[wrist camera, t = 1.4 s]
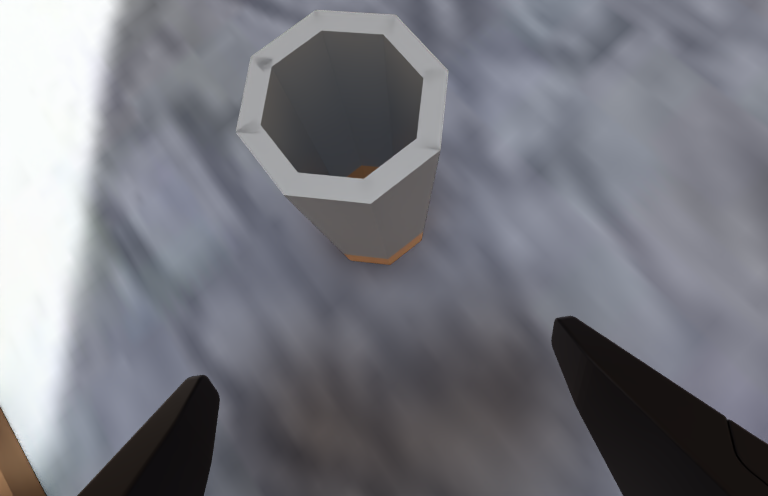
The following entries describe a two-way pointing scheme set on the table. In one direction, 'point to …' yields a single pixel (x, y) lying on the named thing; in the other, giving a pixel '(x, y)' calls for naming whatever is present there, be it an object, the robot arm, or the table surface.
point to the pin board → (15, 466)
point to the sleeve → (349, 127)
